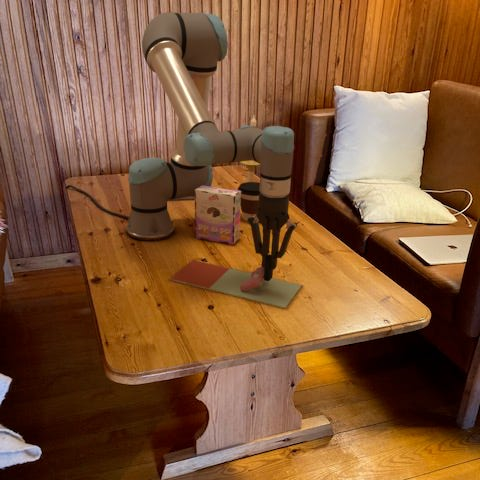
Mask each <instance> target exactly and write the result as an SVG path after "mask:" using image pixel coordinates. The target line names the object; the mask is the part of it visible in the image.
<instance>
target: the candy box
mask: <svg viewBox="0 0 480 480" xmlns="http://www.w3.org/2000/svg"><path fill="white" fill-rule="evenodd" d="M240 228H241V191H238V189H237V190H236V189H230V188H223V187H217V186H212V185H211V186H204V185H201V186H200V187H198V188H197V189H195V199H194V238H195V239H199V240H205V241H210V242H215V243H221V244H227V245H231V246H234V245H235V244H236V243H237V242H238V241H239V240H240V231H241V229H240Z"/></svg>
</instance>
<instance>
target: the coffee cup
mask: <svg viewBox="0 0 480 480" xmlns="http://www.w3.org/2000/svg"><path fill="white" fill-rule="evenodd" d="M259 188H260V182H259V181H258V182H257V181H254V182H247V181H246V182H242V183H240V184H239V185H238V187H237V191H241V205H240V212H241V217H242V219H243V220H244V221H245V222H248V218H249V217H250V216H252V215H256V213H257V211H258V204H259V194H260V193H261V192H260V191H259ZM258 220H259V219H258Z"/></svg>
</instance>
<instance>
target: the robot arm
mask: <svg viewBox="0 0 480 480" xmlns="http://www.w3.org/2000/svg"><path fill="white" fill-rule="evenodd" d="M228 42H229V40H228V34H227V30H226V28H225V24H224V22H223V20H222V19H221V17H219V16H218V15H216V14H213V13H205V12H173V11H168V12H161V13H160V14H157V15H155V17H153V18H152V19H151V20H150V21H149V23H148V24H147V26H146V27H145V29H144V32H143V35H142V42H141V47H142V54H143V58H144V61H145V62H146V64H147V66H148V68H149V69H150V71H151V72H153V73H155V74H156V76H157V78H158V80H159V82H160V84H161V86H162V88H163V90H164V93H165V95H166V96H167V99H168V101H169V102H170V104H171V106H172V109H173V110H174V113H175V115H176V116H177V133H176V146H175V147H176V148H175V149H174V150H173V151H172V152H171V154H170V161H166V159H164V158H161V157H145V158H141V159H138V160H135V161H134V162H132V163H131V164H130V165H129V167H128V186H129V198H130V212H129V216H128V215H124V214H121V213H118V212H113V211H111V210H108V209H107V208H105V207H103V206H101V205H100V204H99V202H98V201H96V199H95V198H94V197H93V196H92V195H91V194H90V193H88V192H86V191H84V190H83V189H80V188H77V187H76V186H74V185H72V184H67V185H66V186H65V189H68V188H72V189H74V190H76V191H78V192H80V193H82V194H83V195H85V196H87V197H88V198H89V199H91V201H92V202H93V203H94V204H95V205H96V206H97V207H98V208H99V209H101V210H102V211H104V212H106V213H108V214H111V215H114V216H117V217H120V218H124V219H128V220H127V223H126V234H127V235H128V236H129V237H130V238H131V239H134V240H139V241H149V242H151V241H160V240H161V241H162V240H165V239H167V238H169V237H171V236H172V235H173V234H174V220H172V219H171V216H170V213H169V210H168V201H171V200H170V199H173V200H174V199H175V200H176V199H177V200H178V198H185V197H195V189H197V188H198V187H200V186H201V185H204V186H211V187H212V184H213V179H214V172H213V167H212V166H214V165H220V164H221V165H222V164H230V163H231V164H232V163H240V162H241V161H250V160H251V161H255V162H257V163H259V164H261V165H260V172H259V173H260V174H259V183H260V188H259V191H260V192H261V193H260V194H259V204H258V211H257V213H256V215H252V216H250V217H249V218H248V221H247V222H248V224H249V226H250V229H251V234H252V235H251V236H252V240H253V246H254V252H255V254H257V255H260V256H261V266H262V267H263V268H265V273H264V280H265V281H270V280H271V279H272V278H273V277H274V276H273V274H274V271H275V270H276V269H277V267H278V259H282V258H283V257H284V256H285V254H286V251H287V249H288V246H289V243H290V240H291V237H292V234H293V232H294V230H296V228H297V227H298V222H293V221H292V220H291V219H290V215H289V206H290V205H289V204H290V195H289V194H290V193H291V180H292V177H291V176H292V172H293V171H292V170H293V160H294V151H295V144H294V143H295V132H294V130H293V129H291V128H290V127H287V126H281V125H270V126H267V127H264V129H260V127H257V126H256V127H255V126H250V125H247V124H246V125H241V126H240V127H239V128H237V129H232V130H231V129H230V130H219V128H218V127H217V124H216V122H215V121H214V119H213V117H212V115H211V113H210V112H209V100H210V88H211V80H212V79H211V78H212V75H214V74H215V73H216V72H217V71H218V62H222V61H223V60H224V59H225V58H226V56H227V54H228V48H229V45H228V44H229V43H228ZM258 219H259V220H258ZM260 225H261V227H262V231H261V230H260V229H261V228H260ZM285 225H286V226H285ZM284 226H285V229H286V231H285V233H284V236H283V238H282V241H281V244H280V236H281V231H282V228H283V227H284ZM261 232H262V235H261ZM270 246H271V247H270Z"/></svg>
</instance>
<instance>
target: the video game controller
mask: <svg viewBox="0 0 480 480" xmlns="http://www.w3.org/2000/svg"><path fill="white" fill-rule="evenodd" d="M250 273H251V278H250V279H249V280H248V281H246V282H244V283H242V284H241V285H240V290H241V291H243V292H247V291H250V290H252V289H254V290H255V289H256V288H257V286H259V285H260V286H261V285H262V283H263V279H264V273H265V268H263V267H262V265H261V266H258V267H257V268H255V270H252V272H250Z"/></svg>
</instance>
